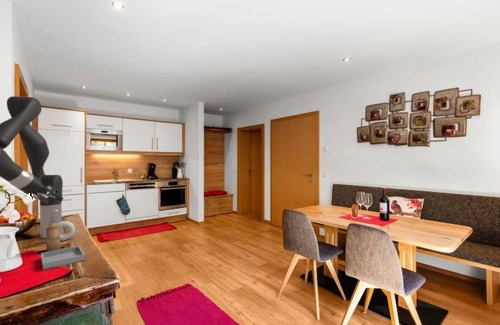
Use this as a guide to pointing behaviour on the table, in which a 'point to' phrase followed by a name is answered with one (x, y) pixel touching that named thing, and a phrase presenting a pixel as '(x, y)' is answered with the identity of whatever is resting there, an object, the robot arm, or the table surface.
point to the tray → (62, 257)
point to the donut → (69, 232)
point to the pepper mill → (53, 237)
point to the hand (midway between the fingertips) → (54, 201)
